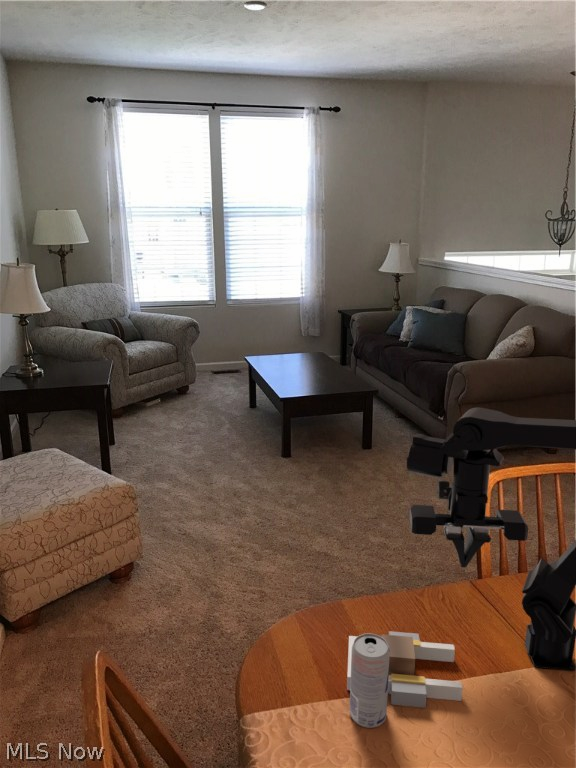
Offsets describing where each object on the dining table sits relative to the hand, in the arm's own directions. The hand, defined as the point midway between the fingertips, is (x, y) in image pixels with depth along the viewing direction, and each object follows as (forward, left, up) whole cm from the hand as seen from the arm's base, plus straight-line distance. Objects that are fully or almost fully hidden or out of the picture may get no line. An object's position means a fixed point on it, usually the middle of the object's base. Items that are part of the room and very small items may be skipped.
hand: (462, 566), depth 102 cm
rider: (+12, +13, -12) cm, 21 cm away
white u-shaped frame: (+10, +13, -12) cm, 20 cm away
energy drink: (+16, +22, -12) cm, 30 cm away
